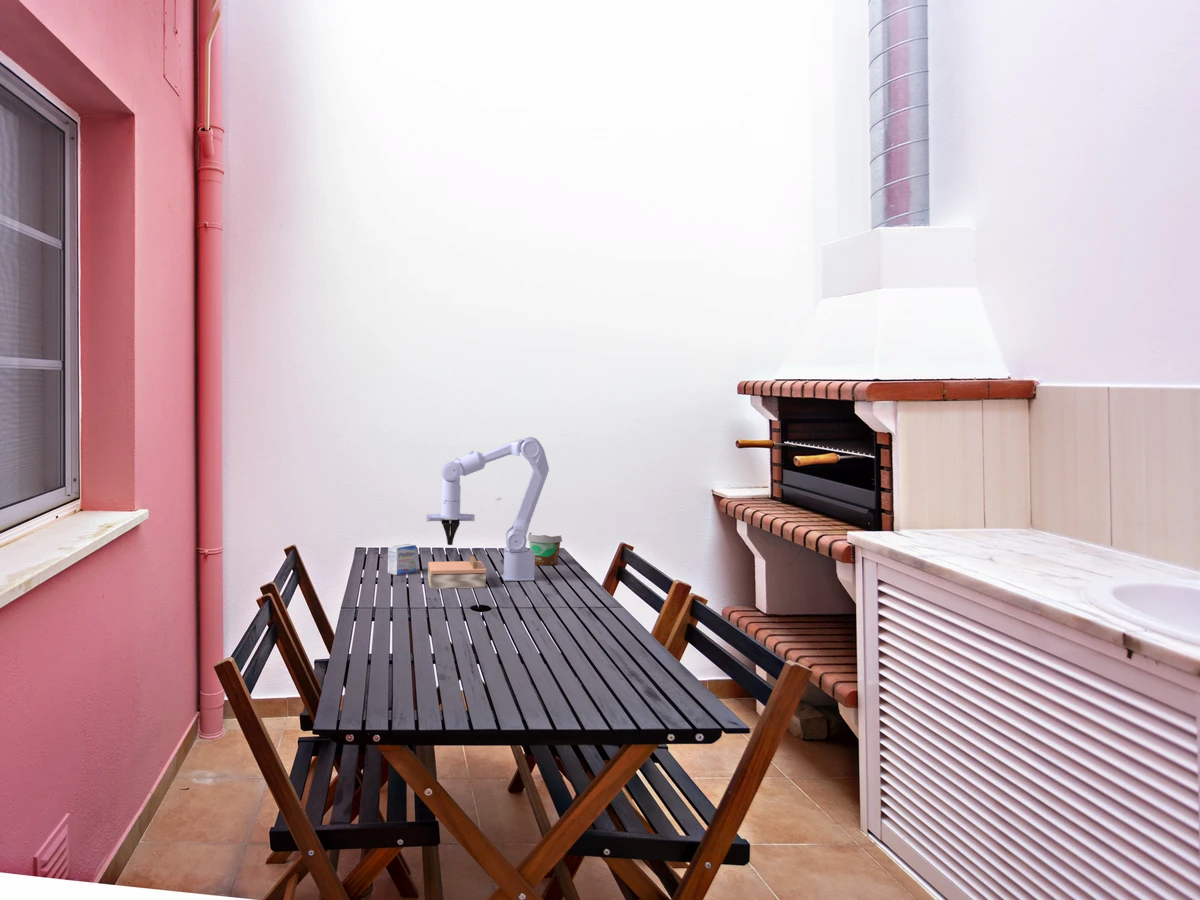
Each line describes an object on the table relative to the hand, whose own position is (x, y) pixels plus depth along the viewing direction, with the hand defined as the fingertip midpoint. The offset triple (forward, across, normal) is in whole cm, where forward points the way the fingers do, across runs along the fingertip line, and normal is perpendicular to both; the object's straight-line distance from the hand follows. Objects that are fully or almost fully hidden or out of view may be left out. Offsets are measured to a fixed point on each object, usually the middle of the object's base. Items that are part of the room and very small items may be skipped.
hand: (449, 544), depth 270 cm
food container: (+11, -32, -18) cm, 38 cm away
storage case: (+10, -2, +8) cm, 13 cm away
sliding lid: (+6, -2, +7) cm, 10 cm away
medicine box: (+11, +14, -9) cm, 20 cm away
